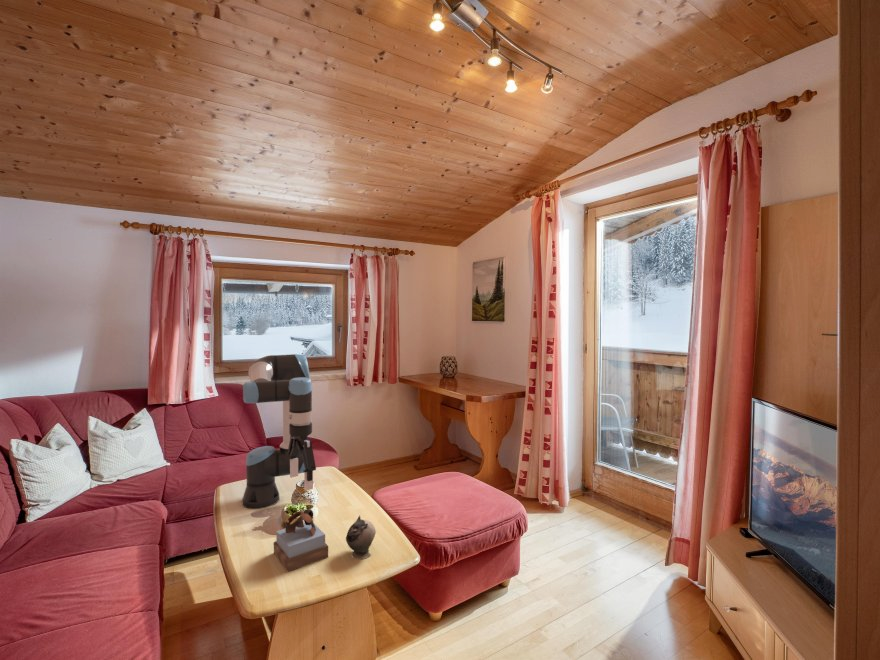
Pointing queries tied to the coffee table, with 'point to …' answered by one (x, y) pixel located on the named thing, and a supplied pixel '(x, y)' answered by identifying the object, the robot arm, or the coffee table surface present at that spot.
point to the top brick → (300, 540)
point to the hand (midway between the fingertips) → (301, 482)
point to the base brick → (300, 557)
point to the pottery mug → (300, 521)
